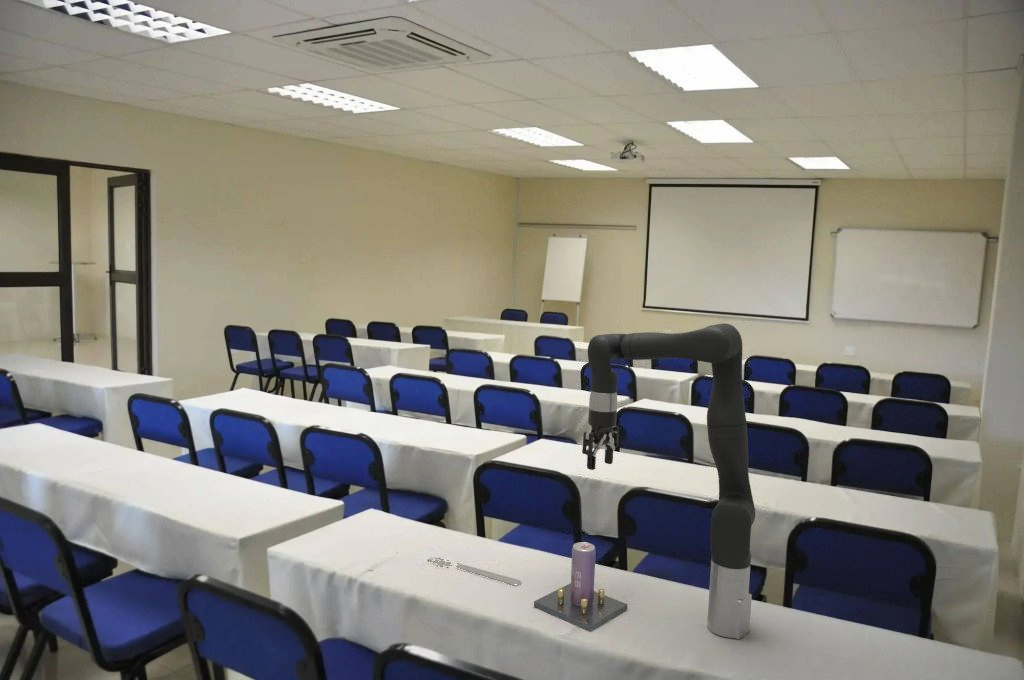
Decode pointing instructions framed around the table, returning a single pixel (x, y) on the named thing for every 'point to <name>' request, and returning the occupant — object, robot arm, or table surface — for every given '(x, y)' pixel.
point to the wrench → (480, 572)
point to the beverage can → (582, 573)
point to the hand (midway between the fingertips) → (599, 466)
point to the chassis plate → (574, 610)
